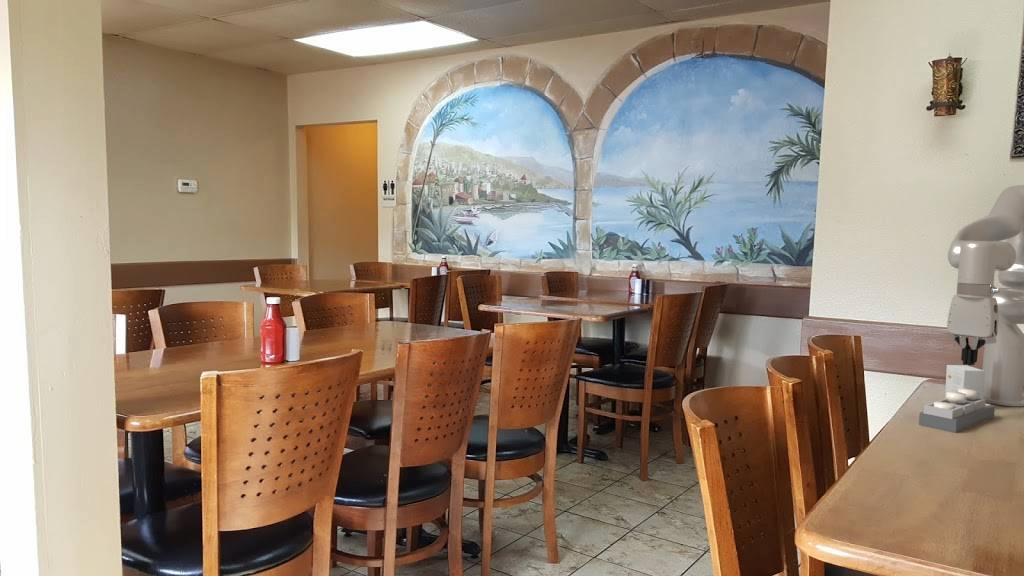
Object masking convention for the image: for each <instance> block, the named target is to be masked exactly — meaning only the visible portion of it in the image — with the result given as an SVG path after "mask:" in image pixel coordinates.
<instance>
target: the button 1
mask: <svg viewBox="0 0 1024 576" xmlns="http://www.w3.org/2000/svg"><path fill="white" fill-rule="evenodd" d="M933 402H934V407H939V408H944V409H949V410H952V409H953V407H954V405H953V404H951V403H947V402H936V401H933Z"/></svg>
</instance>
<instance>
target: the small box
mask: <svg viewBox="0 0 1024 576" xmlns="http://www.w3.org/2000/svg"><path fill="white" fill-rule="evenodd" d="M945 371H946V374H945V387H944V388H945V389H944V390H945V392H944V399H945V398H946V393H947V392H949V391H952V392H958V388H968V389H974V390H977V398H981V399H983V398H984V381H985V371H984V370H983V369H981V368H977V367H973V366H970V365H963V364H962V365H961V364H947V365H946V370H945Z"/></svg>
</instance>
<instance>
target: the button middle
mask: <svg viewBox="0 0 1024 576" xmlns="http://www.w3.org/2000/svg"><path fill="white" fill-rule="evenodd" d="M965 400H966V394H964V393H961V392H952V391H949V392H947V393H946V401H948V402H952V403H965Z"/></svg>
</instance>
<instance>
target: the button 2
mask: <svg viewBox="0 0 1024 576" xmlns="http://www.w3.org/2000/svg"><path fill="white" fill-rule="evenodd" d="M958 392H961V393H964V394H966V399H970V400H975V399H976V398H977V390H974V389H968V388H958Z"/></svg>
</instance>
